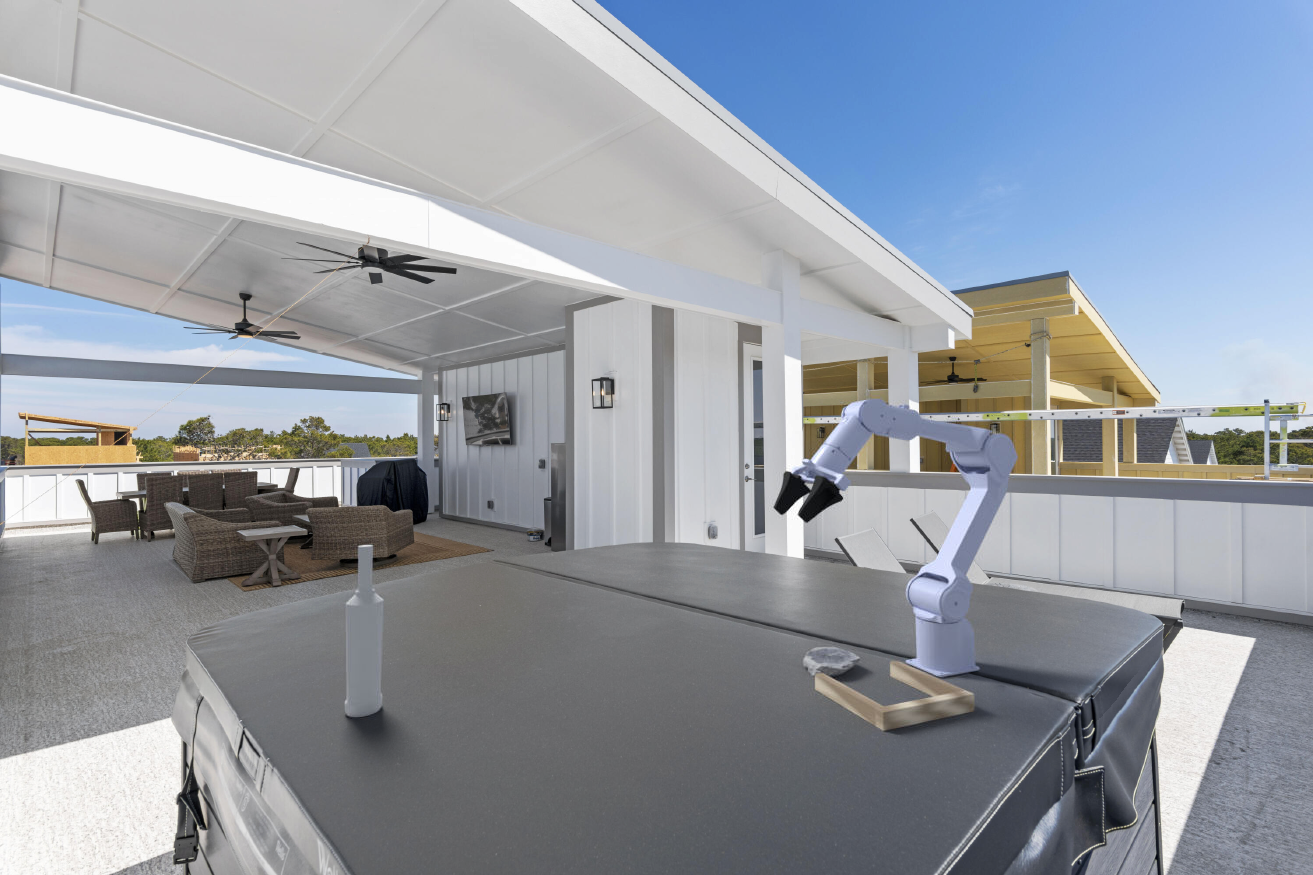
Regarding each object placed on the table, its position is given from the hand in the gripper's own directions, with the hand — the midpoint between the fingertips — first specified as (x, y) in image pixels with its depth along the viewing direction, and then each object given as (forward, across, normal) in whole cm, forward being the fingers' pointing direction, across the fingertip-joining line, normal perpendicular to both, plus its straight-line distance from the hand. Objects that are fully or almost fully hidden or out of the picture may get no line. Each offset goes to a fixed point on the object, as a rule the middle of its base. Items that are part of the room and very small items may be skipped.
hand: (789, 515), depth 97 cm
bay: (+13, +12, +26) cm, 32 cm away
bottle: (+66, -12, -31) cm, 74 cm away
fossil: (+15, -1, +27) cm, 31 cm away
